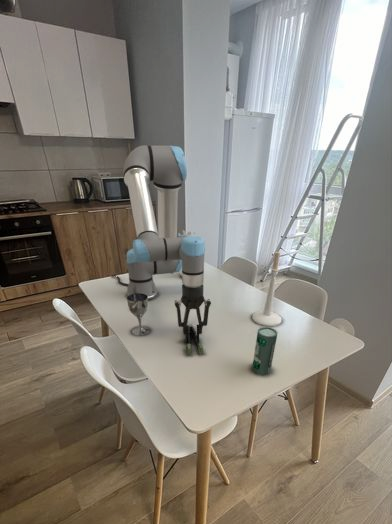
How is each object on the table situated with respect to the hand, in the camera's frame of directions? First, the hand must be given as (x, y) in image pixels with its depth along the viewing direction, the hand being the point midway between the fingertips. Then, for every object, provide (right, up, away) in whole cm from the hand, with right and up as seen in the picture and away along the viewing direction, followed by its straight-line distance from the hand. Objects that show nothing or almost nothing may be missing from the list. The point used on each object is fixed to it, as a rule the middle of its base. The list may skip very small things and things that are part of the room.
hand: (192, 340), depth 117 cm
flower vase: (-4, +39, +60) cm, 72 cm away
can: (+24, -10, -14) cm, 30 cm away
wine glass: (-21, +4, +6) cm, 23 cm away
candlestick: (+33, +10, +17) cm, 38 cm away
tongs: (0, 0, 0) cm, 0 cm away
